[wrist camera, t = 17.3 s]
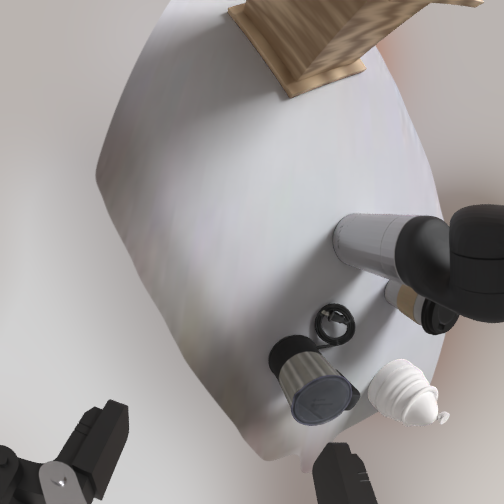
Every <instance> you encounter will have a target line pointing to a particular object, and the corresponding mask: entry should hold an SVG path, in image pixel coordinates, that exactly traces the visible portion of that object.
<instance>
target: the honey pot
mask: <svg viewBox="0 0 504 504" xmlns="http://www.w3.org/2000/svg"><path fill="white" fill-rule="evenodd" d="M433 393H434V394H433ZM437 398H438V390H437V389H436V388H435V387H434V386H430V384H429V382H428V381H427V380H426V378H425V376H424V374H423V372H422V371H421V370H420V369H418V368H417V367H416V366H414V365H413V364H412V363H410V362H409V361H407V360H405V359H396V360H394V361H391V362H389V363H388V364H386V365H385V366H384V367H383V368H381V369H380V370H379V371H378V373H377V374H376V375H375V376H374V378H373V379H372V381H371V383H370V386H369V388H368V400H369V401H370V403H371V404H372V405H373V406H374V407H375V408H376V409H377V410H378V411H379V412H380V413H381V414H382V415H384V416H386V417H390V418H391V419H394V420H395V421H400V422H402V424H403V425H405V426H413V425H416V426H426V425H430V424H432V423H433V422H435V421H436V420H437V419H438V421H439V423H440V424H443V423H445V422H446V421H447V420H448V418H449V416H450V414H449V413H447V412H441V413H440V414H439V415H438V406H437Z"/></svg>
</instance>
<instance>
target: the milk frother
mask: <svg viewBox="0 0 504 504" xmlns="http://www.w3.org/2000/svg"><path fill="white" fill-rule="evenodd" d="M335 311H338V312H340V313H341V314H343V315H340V314H338V313H337V312H335ZM323 316H328V321H331V320H332V321H335V322H339V323H343V324H345V325H347V331H346V333H345V334H344V335H343V336H341V337H338V338H331V337H329V336H327V335H326V334H325V332H324V331H323V329H322V325H321V323H322V318H323ZM344 317H345V318H344ZM315 328H316V332H317V334H318V336H319V337H320V338H321V339H322V340H323V341H325V342H327V343H329V344H330V345H321V346H317V347H316V345H315V343H314V342H313V341H312V340H311V339H310V338H308V337H306V336H302V335H293V336H289V337H286V338H284V339H282V340H280V341H279V342H278V343H277V344H276V345H275V346H274V347H273V349H272V350H271V352H270V355H269V367H270V369H271V371H272V372H273V373H274V374H275V376H276V378H277V379H278V381H279V383H280V385H281V388H282V390H283V392H284V394H285V397H286V399H287V401H288V403H289V405H290V407H291V413H292V416H293V418H294V419H295V420H296V421H297V422H299V423H301V424H304V425H309V426H314V425H315V426H316V425H321V424H324V423H327V422H329V421H331V420H333V419H334V418H336V417H338V416H339V415H340V414H341V413H342V412H343V411H344V410H351V409H352V408H353V407H354V406H355V405H356V403H357V402H358V400H359V398H360V393H359V391H358V390H357V389H356V388H355V387H354V386H353V385H352V384H351V383H350V382H349V381H348V380H347V379H346V378H345V377H344V376H343V375H342V374H341V373H340V372H339V371H338V370H335V369H334V368H333V367H332V366H331V365H330V363H329V362H328V361H327V360H326V359H325V358H324V357H323V356H322V354H321V353H320V352H319V351H318V349H321V348H326V347H332V346H338V345H342V344H344V343H346V342H348V341H349V340H350V339H351V338H352V337H353V335H354V332H355V322H354V318H353V316H352V314H351V313H350V311H349V310H348V309H347V308H346V307H344V306H343V305H340V304H335V303H334V304H328V305H326V306H325V307H323V308H322V309H321V310H320V311H319V313H318V315H317V317H316V321H315Z"/></svg>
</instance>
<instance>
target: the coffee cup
mask: <svg viewBox="0 0 504 504" xmlns="http://www.w3.org/2000/svg"><path fill="white" fill-rule="evenodd" d="M385 298H386V300H387V301H388V302H389V303H390V304H392V305H393V306H395V307H396V308H397V309H399V311H401V312H402V313H403V314H404V315H406V316H407V317H409V318H410V319H412V320H413V321H414V322H416V323H417V324H419V325H422V327H423V329H424V331H425V332H426V333H428V334H432V335H438V334H442V333H445V332H447V331H449V330H450V329H451V328H452V327H453V326H454V324H455V323H456V321H457V319H458V317H459V314H457V313H455V312H453V311H451V310H449V309H447V308H445V307H443V306H441V305H439V304H437V303H435V302H433V301H431V300H429V299H427V298H425V297H422V296H420V295H419V294H417V293H416V292H415V291H414V290H413V289H412V288H411V287H409V286H406V285H403V284H400V283H398V282H395V281H392V280H389V282H388V284H387V286H386V289H385Z"/></svg>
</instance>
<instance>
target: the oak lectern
mask: <svg viewBox="0 0 504 504" xmlns="http://www.w3.org/2000/svg"><path fill="white" fill-rule="evenodd" d="M429 3H443V4H452V5H461V6H468V7H477V6H479V5H481V4H482V3H484V2H483V0H246V3H244V4H240V5H236V6H233V7H230V8H228V14H229V15H230V16H231V17H232V18H233V20H234V21H235V22H236V23H237V25H238V26H239V27H240V29H241V30H242V31H243V32H244V34H245V35H246V36H247V38H248V39H249V40H250V42H251V43H252V44H253V46H254V47H255V48H256V50H257V51H258V52H259V54H260V55H261V57H262V58H263V59H264V61H265V62H266V64H267V65H268V66H269V68H270V69H271V71H272V72H273V74H274V75H275V77H276V78H277V80H278V81H279V83H280V84H281V86H282V87H283V89H284V90H285V92H286V93H287V95H288V96H289V98H293V97H295V96H298V95H300V94H302V93H305V92H308V91H310V90H313V89H315V88H318V87H320V86H323V85H326V84H329V83H331V82H334V81H337V80H340V79H343V78H346V77H349V76H351V75H355V74H358V73H361V72H363V71H365V70H366V69H367V68H366V67H365V65H364V64H363V62H362V61H361V59H360V57H362V56H363V55H364V54H365V53H366V52H367V51H369V50H370V49H371V48H372V47H374V46H375V45H376V44H377V43H378V42H379V41H381V40H382V39H383V38H385V37H386V36H387V35H388V34H390V33H391V32H392V31H393V30H395V29H396V28H397V27H399V26H400V25H401V24H402V23H404V22H405V21H406V20H408V19H409V18H410V17H412V16H413V15H414V14H416V13H417V12H418V11H420V10H421V9H423V8H424V7H425V6H427V5H428V4H429Z"/></svg>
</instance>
